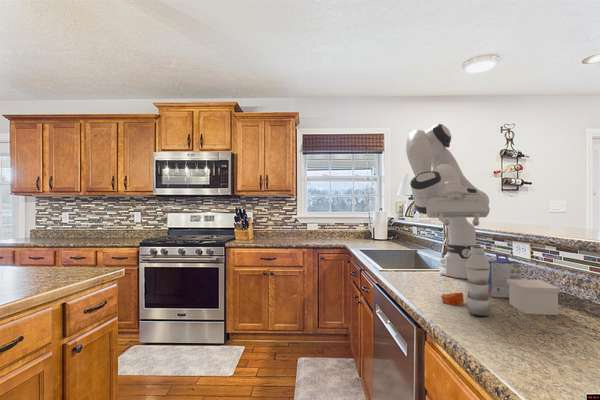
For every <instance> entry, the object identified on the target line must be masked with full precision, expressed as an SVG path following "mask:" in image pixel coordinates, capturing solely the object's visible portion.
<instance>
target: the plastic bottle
mask: <svg viewBox="0 0 600 400" xmlns="http://www.w3.org/2000/svg"><path fill="white" fill-rule="evenodd" d="M470 253H471V256H470V257H469V258H468V260H467V261H466V270H467V276H468V279H467V282H468V283H467V297H466V303H465V305H466V310H467V311H468V313H470V314H471V315H475V316H481V317H482V316H484V317H485V316H489V315H490V313H491V311H492V310H491V309H492V307H491V306H492V305H491V300H490V295H489V292H488V279H489V272H490V264H489V262H488V261H489V260H488V259H487V258H486V256H485V254H486V252H485V247H484V246H478V245H477V246H472V247H471V251H470Z"/></svg>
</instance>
